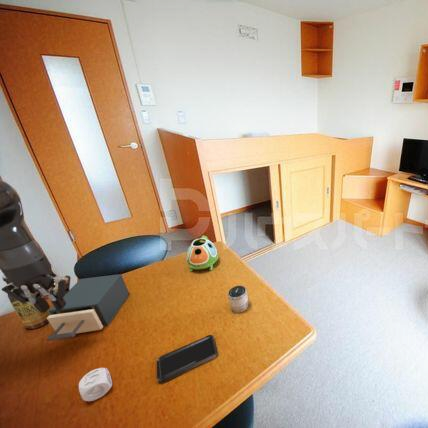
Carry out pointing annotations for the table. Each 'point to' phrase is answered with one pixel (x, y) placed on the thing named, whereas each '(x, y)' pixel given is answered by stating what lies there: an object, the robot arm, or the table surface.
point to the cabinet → (97, 296)
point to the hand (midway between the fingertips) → (53, 309)
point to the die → (95, 384)
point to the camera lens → (238, 299)
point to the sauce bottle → (28, 311)
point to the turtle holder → (201, 254)
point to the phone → (185, 358)
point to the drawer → (74, 322)
